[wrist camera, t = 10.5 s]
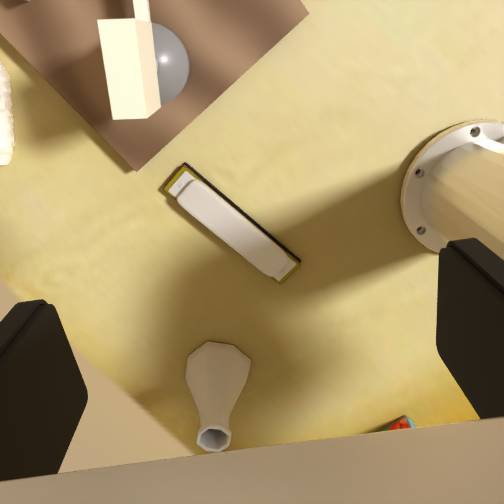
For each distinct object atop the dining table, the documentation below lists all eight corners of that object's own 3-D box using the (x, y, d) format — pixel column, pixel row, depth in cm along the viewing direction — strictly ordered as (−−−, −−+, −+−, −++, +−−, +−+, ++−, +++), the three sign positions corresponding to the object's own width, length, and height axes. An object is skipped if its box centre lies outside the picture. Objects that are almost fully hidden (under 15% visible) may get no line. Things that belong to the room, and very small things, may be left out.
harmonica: (300, 258, 45) (303, 267, 43) (279, 279, 45) (281, 288, 44) (185, 160, 40) (183, 166, 38) (164, 185, 41) (161, 191, 39)
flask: (173, 377, 50) (159, 452, 41) (203, 330, 47) (195, 397, 38) (231, 401, 51) (229, 478, 42) (263, 356, 49) (268, 427, 40)
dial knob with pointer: (193, 101, 36) (178, 120, 26) (123, 103, 36) (82, 124, 26) (177, -98, 30) (150, -162, 21) (94, -95, 30) (29, -158, 21)
